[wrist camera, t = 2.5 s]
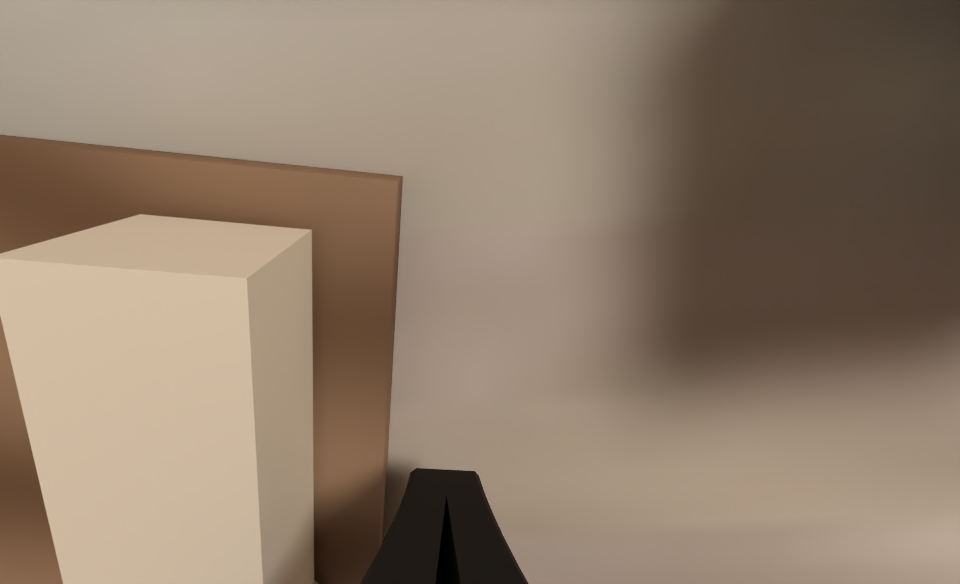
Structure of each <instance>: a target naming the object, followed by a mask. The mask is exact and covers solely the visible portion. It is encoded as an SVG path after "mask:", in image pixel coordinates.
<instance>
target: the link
mask: <svg viewBox="0 0 960 584" xmlns="http://www.w3.org/2000/svg"><path fill="white" fill-rule="evenodd" d="M0 317H1V321H2V325H3V329H4V334H5V338H6V342H7V346H8V351H9V355H10V359H11V364H12V368H13V372H14V376H15V381H16V385H17V389H18V393H19V398H20V402H21V406H22V410H23V415H24V419H25V423H26V427H27V432H28V436H29V440H30V445H31V449H32V453H33V457H34V462H35V466H36V470H37V474H38V479H39V483H40V487H41V491H42V496H43V500H44V504H45V509H46V513H47V517H48V521H49V526H50V530H51V534H52V538H53V543H54V547H55V551H56V555H57V560H58V564H59V568H60V572H61V577H62V581H63V584H318V582H316V581H315V580H314V485H313V336H312V230H309V229H298V228H287V227H276V226H265V225H254V224H243V223H232V222H221V221H210V220H199V219H188V218H177V217H166V216H155V215H144V214H139V215H136V216H132V217H129V218H125V219H121V220H118V221H114V222H111V223H107V224H104V225H100V226H97V227H93V228H89V229H86V230H82V231H79V232H75V233H72V234H68V235H65V236H61V237H57V238H54V239H50V240H47V241H43V242H40V243H36V244H33V245H29V246H25V247H22V248H18V249H15V250H11V251H8V252H4V253H1V254H0Z"/></svg>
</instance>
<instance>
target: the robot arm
mask: <svg viewBox="0 0 960 584" xmlns="http://www.w3.org/2000/svg"><path fill="white" fill-rule="evenodd" d="M360 584H528V582H527V580H526V579H525V577H524V575H523V573H522V571H521V569H520V568H519V566H518V564H517V562H516V560H515V558H514V556H513V554H512V552H511V550H510V548H509V546H508V544H507V542H506V541H505V539H504V537H503V535H502V532H501V530H500V528H499V526H498V524H497V522H496V519H495V517H494V515H493V513H492V510H491V508H490V506H489V503H488V501H487V498H486V496H485V493H484V490H483V487H482V484H481V481H480V478H479V476H478V475H477V473H476V472H475V471H460V470H440V469H420V468H416V469H415V470H413V471H412V472H411V473H410V477H409V482H408V485H407V488H406V491H405V494H404V497H403V499H402V502H401V504H400V507H399V509H398V511H397V514H396V516H395V518H394V521H393V523H392V525H391V527H390V529H389V531H388V533H387V535H386V537H385V539H384V541H383V543H382V545H381V547H380V549H379V551H378V553H377V555H376V557H375V558H374V560H373V562H372V564H371V565H370V567H369V569H368V571H367V572H366V574H365V576H364V577H363V579H362V581H361V583H360Z"/></svg>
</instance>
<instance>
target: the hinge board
mask: <svg viewBox="0 0 960 584" xmlns="http://www.w3.org/2000/svg"><path fill="white" fill-rule="evenodd" d="M402 179H403V176H394V175H385V174H375V173H365V172H356V171H346V170H336V169H326V168H317V167H307V166H297V165H288V164H278V163H268V162H259V161H249V160H239V159H229V158H220V157H210V156H200V155H191V154H181V153H171V152H161V151H152V150H142V149H132V148H123V147H113V146H103V145H94V144H84V143H74V142H64V141H55V140H45V139H35V138H26V137H16V136H6V135H0V254H1V253H4V252H8V251H11V250H15V249H18V248H22V247H25V246H29V245H33V244H36V243H40V242H43V241H47V240H50V239H54V238H57V237H61V236H65V235H68V234H72V233H75V232H79V231H82V230H86V229H89V228H93V227H97V226H100V225H104V224H107V223H111V222H114V221H118V220H121V219H125V218H129V217H132V216H136V215H139V214H144V215H155V216H166V217H177V218H188V219H199V220H210V221H221V222H232V223H243V224H254V225H265V226H276V227H287V228H298V229H309V230H312V336H313V485H314V580H315V581H316V582H318V584H360V583H361V581H362V579H363V577H364V576H365V574H366V572H367V571H368V569H369V567H370V565H371V564H372V562H373V560H374V558H375V557H376V555H377V553H378V551H379V549H380V547H381V545H382V543H383V533H384V514H385V496H386V477H387V458H388V440H389V421H390V403H391V384H392V365H393V347H394V328H395V309H396V291H397V272H398V254H399V235H400V216H401V198H402ZM0 584H63V581H62V577H61V572H60V568H59V564H58V560H57V555H56V551H55V547H54V543H53V538H52V534H51V530H50V526H49V521H48V517H47V513H46V509H45V504H44V500H43V496H42V491H41V487H40V483H39V479H38V474H37V470H36V466H35V462H34V457H33V453H32V449H31V445H30V440H29V436H28V432H27V427H26V423H25V419H24V415H23V410H22V406H21V402H20V398H19V393H18V389H17V385H16V381H15V376H14V372H13V368H12V364H11V359H10V355H9V351H8V346H7V342H6V338H5V334H4V329H3V325H2V321H1V317H0Z"/></svg>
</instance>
